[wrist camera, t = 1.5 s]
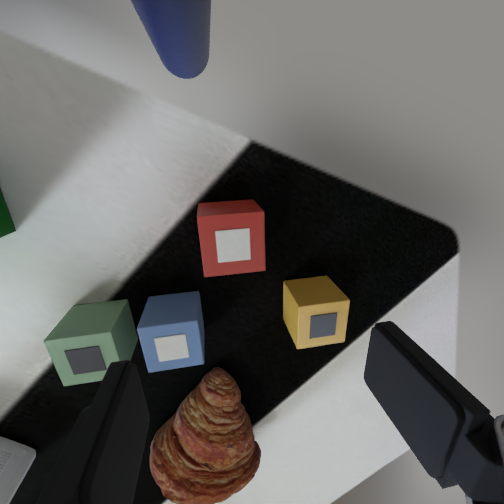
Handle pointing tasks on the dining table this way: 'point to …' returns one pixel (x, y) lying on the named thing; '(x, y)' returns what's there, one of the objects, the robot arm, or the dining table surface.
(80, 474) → the robot arm
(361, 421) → the dining table surface
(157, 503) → the dining table surface
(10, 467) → the photo printer
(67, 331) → the sage block
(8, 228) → the milk carton
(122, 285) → the dining table surface
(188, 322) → the blue block
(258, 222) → the red block
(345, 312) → the mustard block
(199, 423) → the pastry
